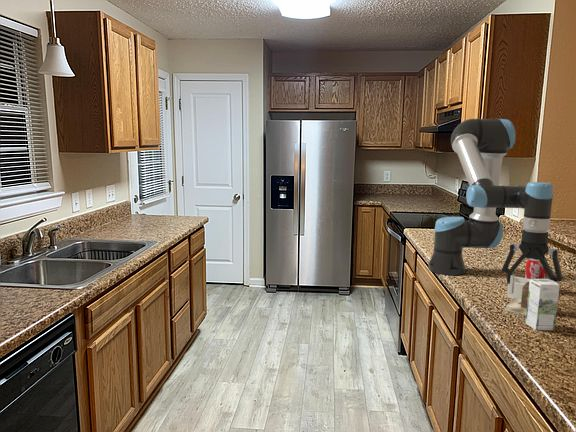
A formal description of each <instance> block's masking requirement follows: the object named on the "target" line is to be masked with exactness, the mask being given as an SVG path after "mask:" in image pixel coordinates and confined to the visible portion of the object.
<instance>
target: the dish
mask: <svg viewBox="0 0 576 432" xmlns="http://www.w3.org/2000/svg"><path fill="white" fill-rule="evenodd" d="M527 282H530V279H527V278H525V277H520V276H515V282H514V293H513V294H512V295H511V294H509V289H510V284H508V283H507V291H506V297H507V298H511V299H513V298H518V299H522V288H523V286H524V285H525V284H526V283H527Z"/></svg>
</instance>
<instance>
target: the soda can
mask: <svg viewBox="0 0 576 432" xmlns="http://www.w3.org/2000/svg"><path fill="white" fill-rule="evenodd" d="M547 277H548V275H547V273H546V271H545V269H544V268H543V266H542V264H541V262H540V261H539V260H535V259H527V261H526V264H525V273H524V278H527V279H547Z"/></svg>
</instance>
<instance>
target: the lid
mask: <svg viewBox="0 0 576 432" xmlns="http://www.w3.org/2000/svg"><path fill="white" fill-rule="evenodd" d="M529 283H530V282H527V283H526V284H525V285H524V286H523V288H522V299H518V298H511V300H510V301H509V303H507V304H506V306H505V308H506V310H505V311H507V310H510V311H509V312H511V311H514V312H513V313H516V312H519V313H518V314H520V313H524V314H523V315H525V314H526V310H527V300H528V292H529Z"/></svg>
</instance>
